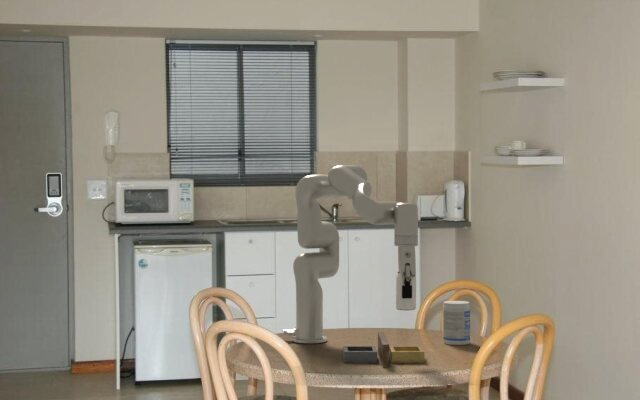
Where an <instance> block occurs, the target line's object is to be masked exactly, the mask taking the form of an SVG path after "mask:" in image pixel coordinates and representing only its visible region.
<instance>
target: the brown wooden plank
mask: <svg viewBox="0 0 640 400" xmlns="http://www.w3.org/2000/svg"><path fill="white" fill-rule="evenodd" d="M389 346H390V343H389V341H388V338H387V337H386V334H385V332H384V331H377V356H378V357H379V361H380V362H381V366H382V368H390V357H389Z"/></svg>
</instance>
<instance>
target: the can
mask: <svg viewBox="0 0 640 400" xmlns="http://www.w3.org/2000/svg"><path fill="white" fill-rule="evenodd" d="M404 276H406V275H404ZM413 276H414V275H412V273H411V279H412V298H402V286H403V278H402V276H400V273H399V271H397V273H396V276H395V309H396V310H398V311H414V310H416V309H417V275H416V276H415V277H413Z"/></svg>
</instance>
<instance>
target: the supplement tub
mask: <svg viewBox="0 0 640 400" xmlns="http://www.w3.org/2000/svg"><path fill="white" fill-rule="evenodd" d="M442 304H443V305H442V342H443V343H444V344H446V345H450V346H466V345H469V344H470V343H471V306H470V305H471V304H470V301H468V300H467V301H466V300H446V301H443V303H442Z"/></svg>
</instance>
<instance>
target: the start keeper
mask: <svg viewBox="0 0 640 400" xmlns="http://www.w3.org/2000/svg"><path fill="white" fill-rule="evenodd" d="M342 352H343V353H342V354H343V356H342V357H343V363H344V364H355V363H356V364H357V363H358V364H377V363H378V349H377V347H376V345H343V351H342Z"/></svg>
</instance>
